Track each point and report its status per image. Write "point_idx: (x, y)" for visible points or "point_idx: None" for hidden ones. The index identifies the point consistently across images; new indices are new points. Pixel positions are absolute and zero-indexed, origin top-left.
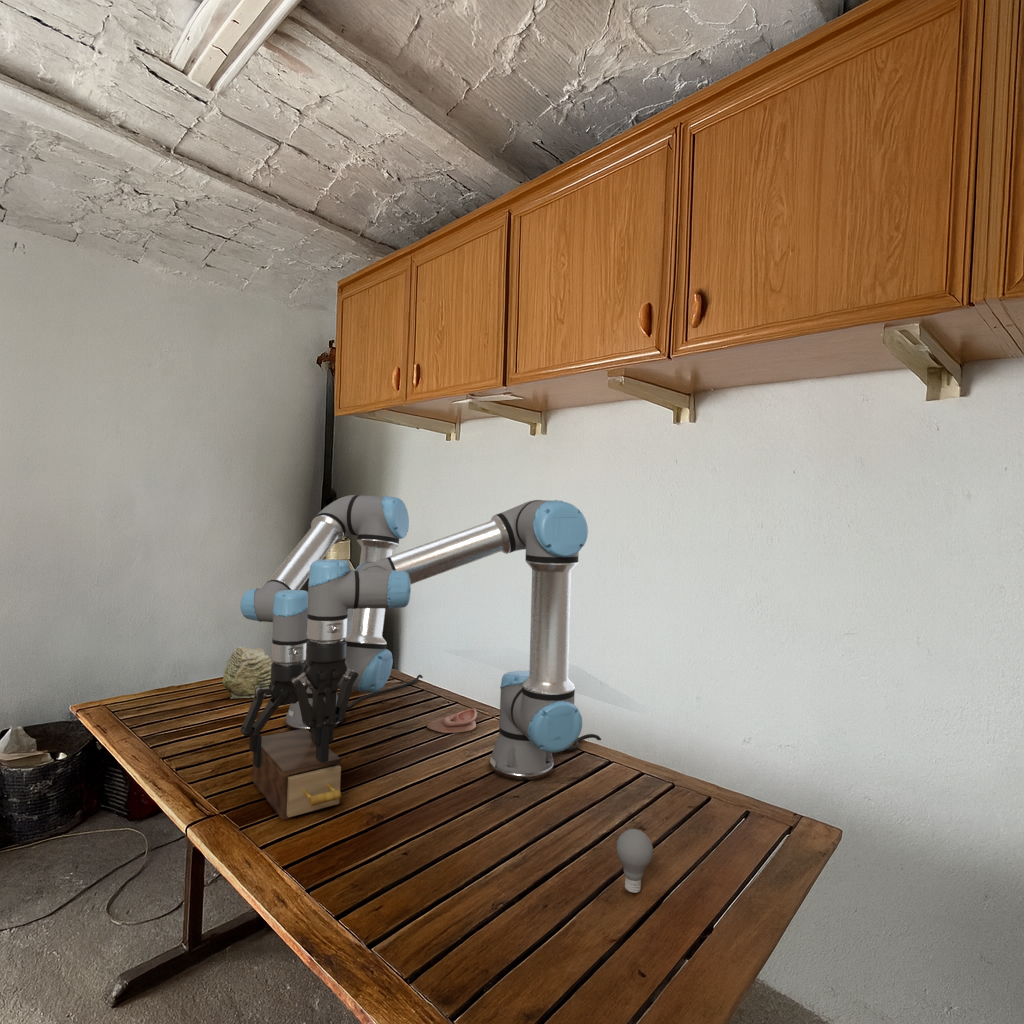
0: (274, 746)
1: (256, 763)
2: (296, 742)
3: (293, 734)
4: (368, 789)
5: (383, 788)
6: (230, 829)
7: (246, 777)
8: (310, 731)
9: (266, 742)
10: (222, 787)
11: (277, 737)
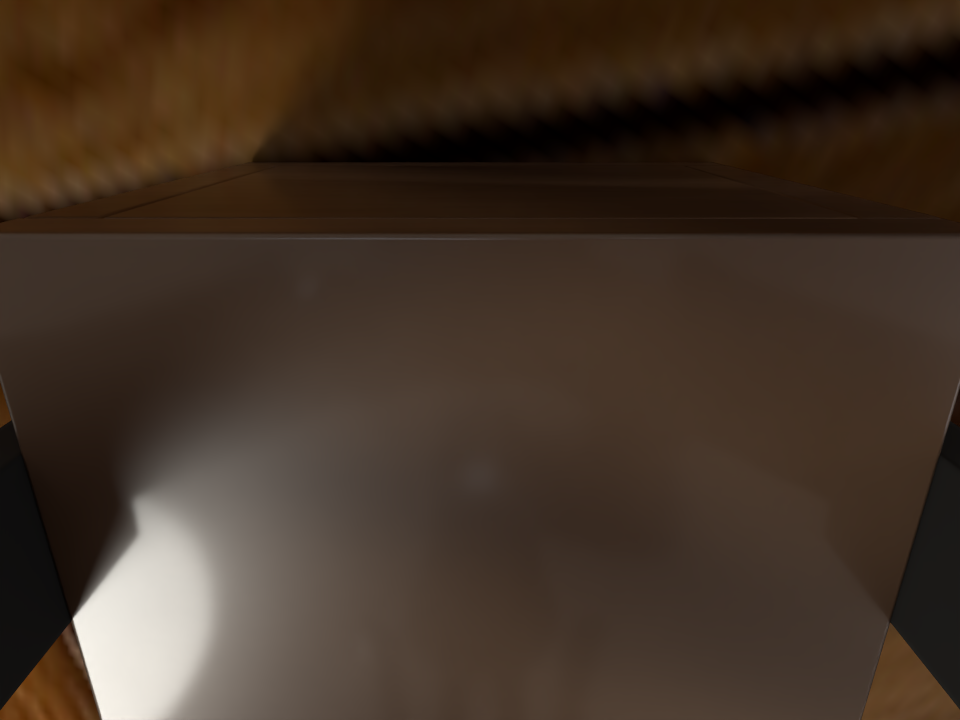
0: (245, 707)
1: None
2: (554, 717)
3: (651, 435)
4: (879, 679)
5: (954, 707)
6: (59, 704)
7: (213, 46)
8: (943, 483)
9: (159, 534)
10: (2, 148)
11: (366, 428)
